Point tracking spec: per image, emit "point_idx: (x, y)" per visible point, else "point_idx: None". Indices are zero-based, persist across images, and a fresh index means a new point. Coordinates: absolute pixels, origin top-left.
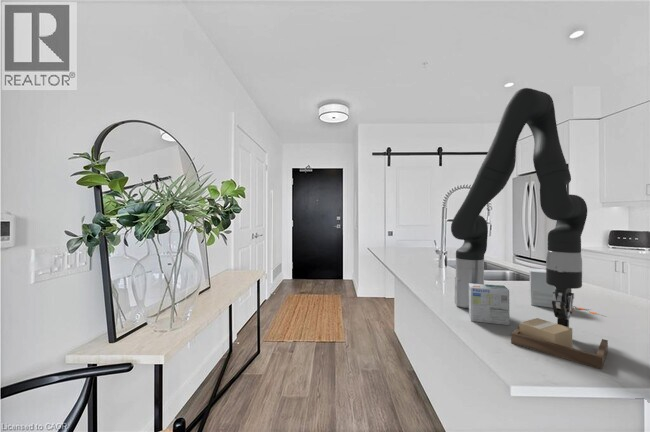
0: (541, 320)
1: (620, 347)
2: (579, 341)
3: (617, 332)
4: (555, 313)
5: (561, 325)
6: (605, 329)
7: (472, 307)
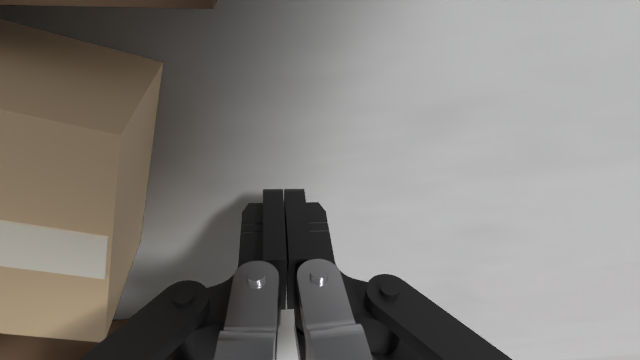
0: (69, 180)
1: None
2: None
3: (558, 312)
4: (126, 330)
5: (97, 298)
6: (582, 283)
7: None
